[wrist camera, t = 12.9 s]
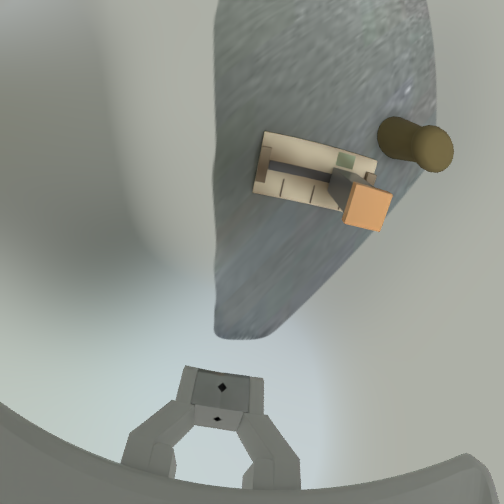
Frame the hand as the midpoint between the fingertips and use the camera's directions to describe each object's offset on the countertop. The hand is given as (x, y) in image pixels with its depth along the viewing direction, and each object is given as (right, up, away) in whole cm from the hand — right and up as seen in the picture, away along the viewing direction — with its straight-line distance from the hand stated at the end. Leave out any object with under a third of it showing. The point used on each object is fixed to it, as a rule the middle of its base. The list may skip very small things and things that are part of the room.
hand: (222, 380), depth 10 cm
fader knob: (+13, +14, +23) cm, 30 cm away
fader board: (+9, +15, +25) cm, 30 cm away
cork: (+21, +20, +22) cm, 36 cm away
